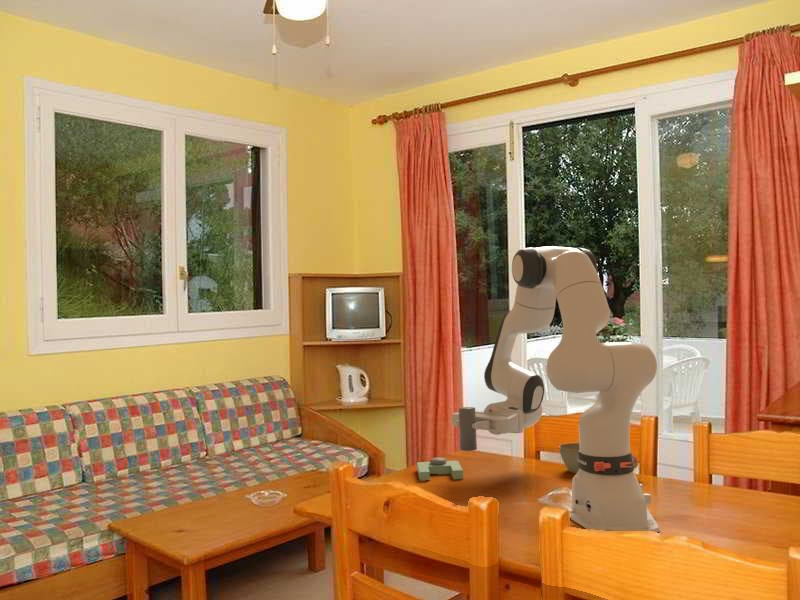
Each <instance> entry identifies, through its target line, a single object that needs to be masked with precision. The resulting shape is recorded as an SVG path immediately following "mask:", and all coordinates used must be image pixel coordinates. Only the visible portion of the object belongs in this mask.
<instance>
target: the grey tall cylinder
mask: <svg viewBox="0 0 800 600" xmlns="http://www.w3.org/2000/svg"><path fill="white" fill-rule="evenodd" d="M475 411H476V407H473V406H462V407H458V412H459V427H458V429H459V450H461V451H462V452H463V451H464V452H465V451H466V452H467V451H468V452H471V451H477V449H478V444H477V441H478V439H477V430H475V429H472V425H471V424H472V423H473V422H476V415H475Z"/></svg>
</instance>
